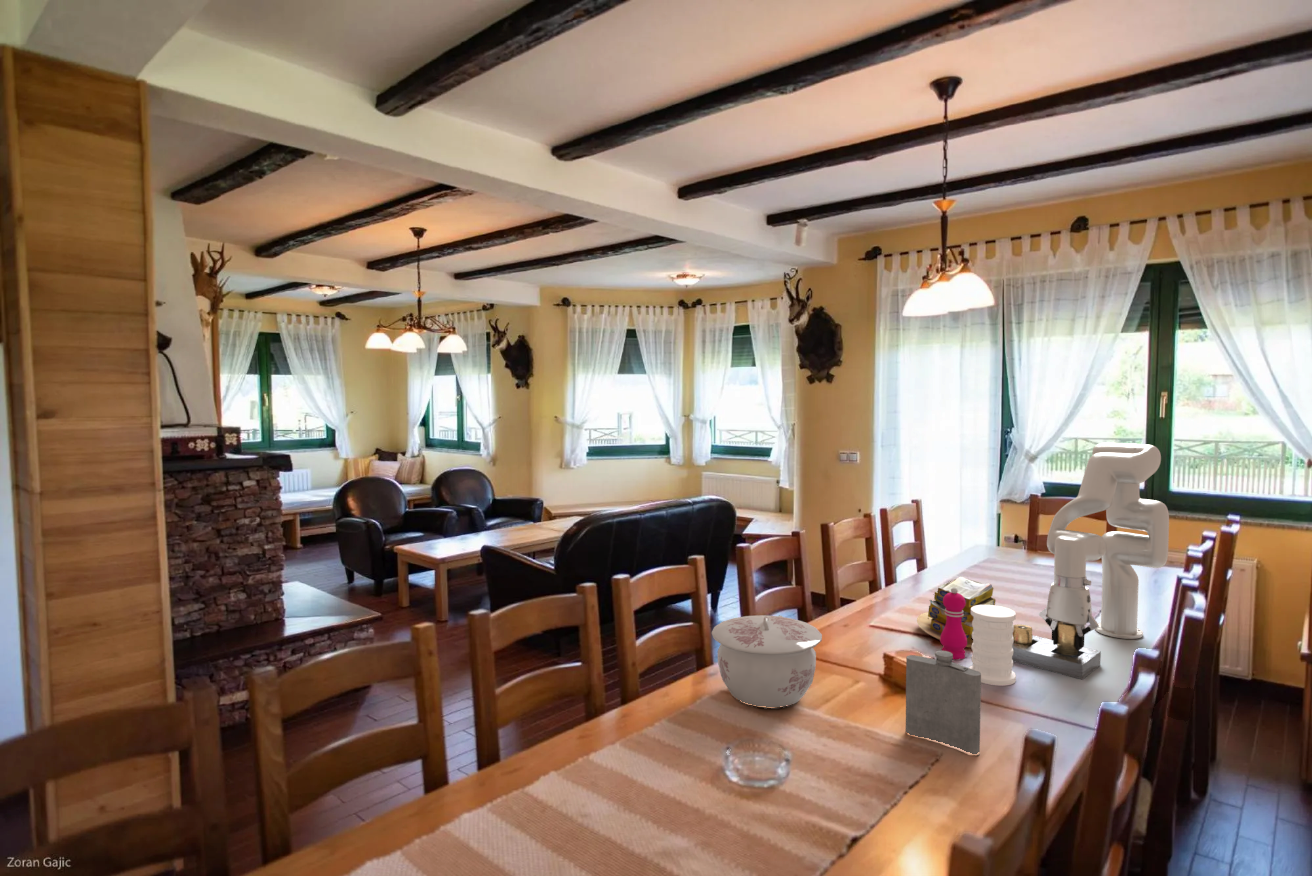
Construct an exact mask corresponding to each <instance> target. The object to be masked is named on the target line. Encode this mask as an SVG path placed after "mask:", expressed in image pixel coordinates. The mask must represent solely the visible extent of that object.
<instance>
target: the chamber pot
mask: <svg viewBox="0 0 1312 876" xmlns="http://www.w3.org/2000/svg"><path fill="white" fill-rule="evenodd" d="M711 635H712V638H713V639H714V640H715V641H716V642H717V643H719V644H720V645H719V646H718V648H717V649H718V650H717V663H718V669H719V673H720V677H721V679H722V682H723V684H724V685H725V686H726V688H727V690H728V691H729V692H730V693H729V694H730V695H731V696H732V697H734V698H735V699H736V698H737V699H738V700H741V701H742V702H745V703H748V704H752V705H756V706H766V707H780V706H786V705H791V704H793V705H794V704H797V703H798V702H799V701H801V699H802V698H803V697H804V696H805V694H806V693H807V692H808V690H809V689H810V687H811V686H812V684H813V681H814V677H815V672H816V666H817V665H816V664H817V652H816V651H815V649H814V648H815V647H817V645H818V644H819V645H820V643H821V642H822V639H823V634H822V633H821V632H820V631H819V630H818V628H817V627H815V626H814V625H812V624H810V623H808V622H805V621H803V620H798V619H795V618H790V617H785V616H783V615H765V614H764V615H763V614H762V615H745V616H739V617H733V618H729V619H726V620H724V621H721V622H720V623H718V624H717V625H715V626H714V627H713V629H712V631H711ZM737 699H736V700H737ZM738 700H737V701H738ZM742 702H741V703H742ZM791 706H792V705H791Z"/></svg>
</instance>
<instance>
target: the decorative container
mask: <svg viewBox="0 0 1312 876" xmlns="http://www.w3.org/2000/svg"><path fill="white" fill-rule="evenodd" d="M971 615H972V616H974V619H973V621H972V627H973V632H972V639H973V643H972V648H971V651H972V655H971V662H972V665H970V666H969V667H968V668H970V669H973V670H976V671H979V672H980V673H981V684H986V685H989V686H990V685H991V686H999V687H1002V686H1003V687H1004V686H1010V685H1014V684H1015V683H1016V682H1017V674H1016V673H1015V672H1014V671H1013V667H1014V661H1013V660H1012V656H1013V653H1014V652H1013V648H1012V644H1013V641H1014V638H1013V636H1012V633H1013V631H1014V625H1015V624H1014V623H1013V622H1014V621H1015V620H1016V617H1017V615H1016V611H1015V610H1013V609H1011V608H1009V607H1006V606H1001V605H996V604H995V605H976V606H973V607H971Z"/></svg>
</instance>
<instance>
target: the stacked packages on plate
mask: <svg viewBox="0 0 1312 876" xmlns="http://www.w3.org/2000/svg"><path fill="white" fill-rule="evenodd" d="M952 588H957V590H958V592H957V593H959V594H961V595H962V596H963V597H964V598H965V602H966V604H965V607H964V608H963V609H962V610H963V611H964V612H963V614H964V615H963V616H962V619H961V624H962V628H963V631H964V633H965V635H966V638H967V646H966V647H965V648H971V649H972V643H973V640H972V639H971V638H972V632H973V627H972V621H973V619H974V616H972V615H971V607H973V606H976V605H996V601H997V600H996V598H994V597H993V594H994V587H993V584H991V582H990V583H989V582H988V583H981V582H979V581H975V580H972V579H969V578H965V577H964V576H958V577H956V578H955V579H951V580H949V581H947V582H946V583H944V584H942V585H940V586H938V588H937V590H935V591H934V594H932V595H933V599H934V600H932V599H929V601H930V604H929V606H928V611H926V612H924V613H923V612H922V613H920V614H919V615H918V617H916V622H917V625H918V627H919V628H920V630H922V631H923V632H925V633H926V634H928V635H930V636H931V637H933V638H935V639H937V640H939V641H940V637H941V633H942V631H943V629H944V627H945V625H946V619H947V618H946V614H945V608H946V607H945V606H944V604H943V598H944V596H945V595H946V594H947V593H951V589H952Z"/></svg>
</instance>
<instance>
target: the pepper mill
mask: <svg viewBox="0 0 1312 876" xmlns="http://www.w3.org/2000/svg"><path fill="white" fill-rule="evenodd" d="M957 592H958V590H957V588H952V589H951V593H947V594H946V595H945V596H944V598H943V604H944V606H945V607H946V608H945V614H946V618H947V619H946V625H945V627H944V629H943V631H942V633H941V637H940V640H939V641H940V644H941V645H942V647H941V651H948V652H951V653H952V654H953V659H952V660H956V661H957V660H964V659H965V658H966V650H965V648H967V647H966V646H967V638H966V635H965V633H964V631H963V628H962V624H961V619H962V616H963V615H964V614H963V612H964V611H963V610H962V609H963V608H964V607H965V604H966V602H965V598H964V597H963V596H962V595H961V594H959V593H957Z"/></svg>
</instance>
